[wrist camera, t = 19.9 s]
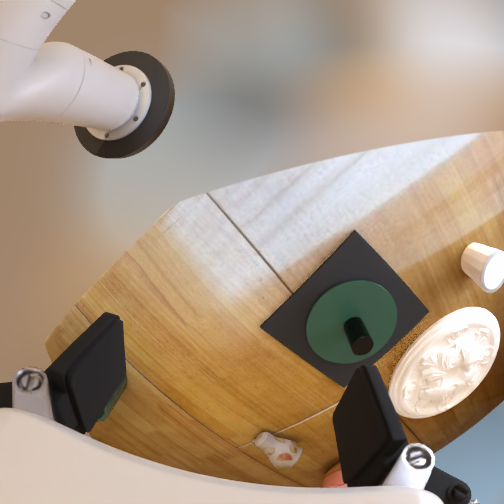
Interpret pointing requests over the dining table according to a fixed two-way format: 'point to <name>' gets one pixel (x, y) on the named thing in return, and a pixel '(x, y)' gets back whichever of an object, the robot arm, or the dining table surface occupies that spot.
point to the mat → (327, 276)
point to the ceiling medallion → (445, 363)
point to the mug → (278, 450)
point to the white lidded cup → (484, 266)
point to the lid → (351, 321)
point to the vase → (334, 478)
